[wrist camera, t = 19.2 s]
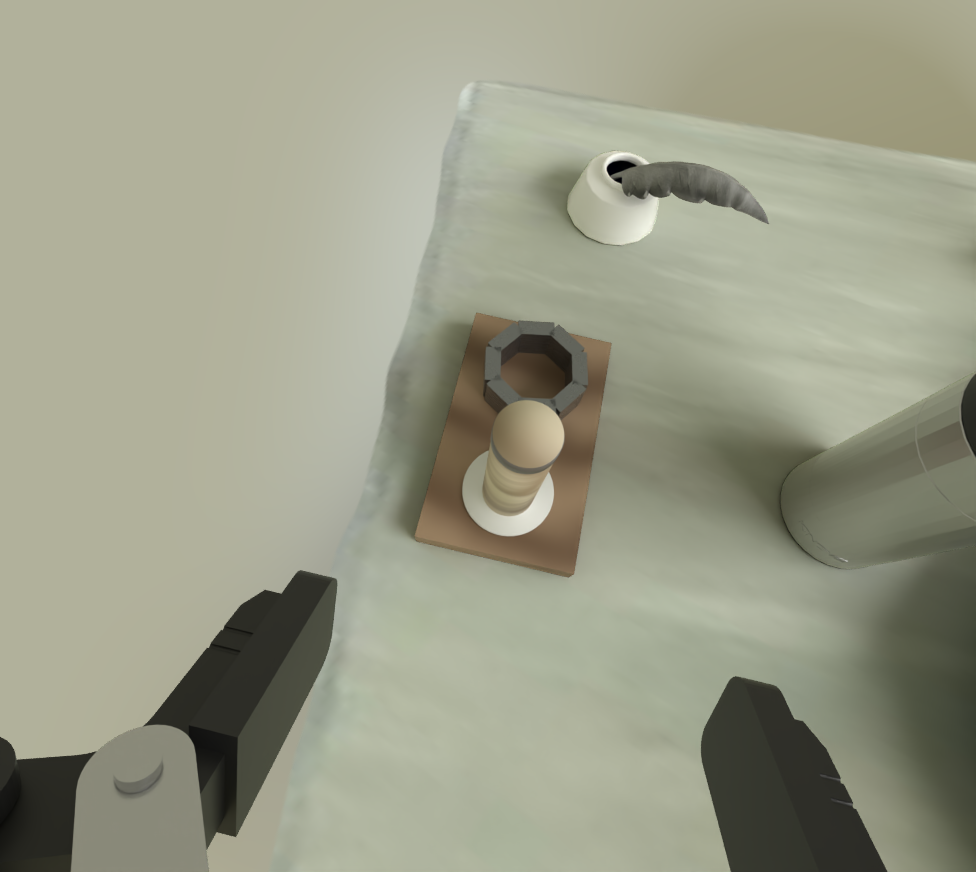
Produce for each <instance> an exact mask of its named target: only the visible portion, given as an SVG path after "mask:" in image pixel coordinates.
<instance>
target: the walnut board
mask: <svg viewBox="0 0 976 872" xmlns="http://www.w3.org/2000/svg"><path fill="white" fill-rule="evenodd" d="M513 322H515V323H516V324H517V325H518V322H516V321H511V320H507V319H502V318H498V317H493V316H489V315H485V314H480V313H476V315H475V319H474V323H473V326H472V330H471V333H470V337H469V341H468V344H467V348H466V352H465V355H464V359H463V362H462V366H461V370H460V373H459V377H458V381H457V384H456V388H455V391H454V395H453V399H452V402H451V406H450V410H449V413H448V417H447V420H446V424H445V428H444V431H443V435H442V439H441V442H440V446H439V449H438V453H437V457H436V460H435V464H434V468H433V471H432V475H431V478H430V482H429V486H428V489H427V493H426V497H425V500H424V504H423V507H422V511H421V515H420V518H419V522H418V525H417V529H416V533H415V539H416V541H418V542H422V543H426V544H430V545H435V546H439V547H443V548H447V549H451V550H456V551H460V552H464V553H468V554H472V555H477V556H481V557H485V558H489V559H494V560H498V561H502V562H506V563H510V564H515V565H519V566H523V567H527V568H531V569H536V570H540V571H544V572H548V573H552V574H557V575H561V576H565V577H570V576H572V575H573V574H574V571H575V565H576V559H577V552H578V546H579V540H580V534H581V528H582V522H583V516H584V509H585V503H586V497H587V491H588V485H589V479H590V472H591V466H592V460H593V454H594V448H595V442H596V435H597V429H598V423H599V417H600V411H601V405H602V399H603V392H604V386H605V380H606V374H607V368H608V362H609V355H610V349H611V343H609V342H604V341H600V340H595V339H591V338H587V337H582V336H578V335H573V334H570V335H571V336H572V337H573V338H574V339H575V340H576V341H577V342H579V343H580V344H581V345H582V346H583V347H584V348H585V349H584V351H583V352H587V369H588V386H587V388H586V391H585V393H584V395H583V397H582V399H581V401H580V403H579V405H578V406H577V407H576V408H575V409H573V410H572V411H571V412H570V413H569V414H568V415H567V416H566V417H564V418H563V419H562V420H561V422H562V425H563V429H564V444H563V447H562V450H561V452H560V454H559V456H558V457H557V459H556V460H555V462H554V463H553V465H552V467H551V468H550V470H549V473H550V475H551V478H552V481H553V486H554V499H553V504H552V507H551V509H550V511H549V513H548V515H547V517H546V518H545V519H544V521H543V522H542V523H541V524H540V525H539V526H538V527H536V528H535V529H533V530H532V531H530V532H528V533H526V534H522V535H519V536H508V537H507V536H500V535H495V534H493V533H490V532H488V531H486V530H484V529H483V528H481V527H480V526H479V525H478V524H477V523H476V522H474V520H473V519H472V518H471V517H470V515H469V513H468V512H467V509H466V507H465V504H464V501H463V495H462V487H463V480H464V476H465V474H466V472H467V470H468V468H469V466H470V465H471V464H472V462H473V461H474V460H475V459H476V458H477V457H479V456H480V455H481V454H483V453H485V452H486V451H489V447H490V442H491V431H492V426H493V423H494V420H495V418H496V417H497V415H498V413H497V412H496V411H495V410H494V409H493V408H492V407H491V406H490V405H489V404H488V403H487V402H486V401H485V396H483V378H484V360H485V351H486V347H488V342H490V341H491V340H492V339H493V338H495V337H496V336H497V335H498V334H500V333H501V332H502V331H503V330H505V329H506V328H507V327H508V326H510V325H511V324H512V323H513ZM500 377H501V378H502V379H503V380H504V381H505V382H506V383H507V384H508V385H509V386H510V387H511V388H512V389H513V390H514V391H515V392H516V393H517V394H519V395H520V396H521V397H522V398H542V399H553V398H554V397H555V396H556V395H557V394H558V393H559V392H561V391H562V390H563V389H564V388H565V372H564V371H563V370H562V369H561V368H559V367H558V366H557V365H556V364H555V363H554V362H553V361H552V360H551V359H550V358H549V357H548V356H547V355H545V354H533V353H517V354H516V355H514V356H513V357H512V358H511V359H510V360H508V361H507V362H506V363H505V364H503V365H502V366H501V376H500Z"/></svg>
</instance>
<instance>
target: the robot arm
mask: <svg viewBox="0 0 976 872" xmlns="http://www.w3.org/2000/svg"><path fill="white" fill-rule="evenodd" d="M781 510H782V514H783V518H784V521H785V523H786V525H787V528H788V530H789V531H790V533H791V535H792V536H793V538H794V539H795V541H796V542H797V543H798V544H799V545H800V546H801V547H802V548H803V549H804V550H805V551H806V552H807V553H809V554H810V555H811V556H813V557H814V558H815V559H817V560H819V561H821V562H823V563H825V564H827V565H830V566H834V567H837V568H843V569H856V568H863V567H868V566H873V565H878V564H883V563H889V562H895V561H900V560H905V559H910V558H915V557H921V556H926V555H931V554H936V553H941V552H946V551H951V550H956V549H962V548H967V547H972V546H976V372H974V373H972V374H970V375H968V376H967V377H965V378H963V379H961V380H959V381H957V382H955V383H953V384H951V385H950V386H948V387H946V388H944V389H942V390H940V391H938V392H936V393H935V394H933V395H931V396H929V397H927V398H925V399H924V400H922V401H920V402H918V403H916V404H914V405H912V406H910V407H908V408H906V409H905V410H903V411H901V412H899V413H897V414H895V415H893V416H891V417H889V418H887V419H885V420H884V421H882V422H880V423H878V424H876V425H874V426H872V427H870V428H868V429H866V430H865V431H863V432H861V433H859V434H857V435H855V436H853V437H851V438H849V439H847V440H846V441H844V442H842V443H840V444H838V445H836V446H834V447H832V448H830V449H828V450H826V451H824V452H822V453H820V454H819V455H817V456H815V457H813V458H811V459H809V460H807V461H805V462H803V463H802V464H800V465H799V466H797V467H796V468H794V469H793V470H792V471H791V473H790V474H789V475H788V476H787V478H786V480H785V482H784V484H783V487H782V492H781ZM336 593H337V580H336V579H335V578H331V577H327V576H322V575H318V574H314V573H310V572H306V571H301V570H300V571H298V572H297V573H296V574H295V576H294V577H293V578H292V580H291V581H290V583H289V584H288V585H287V587H286V588H285V590H284V591H283V593H282V594H280V593H276V592H272V591H267V590H264V591H263V592H261V593H259V594H258V595H256V596H255V597H253V598H251V599H250V600H248V601H247V602H245V603H243V604H242V605H241V606H240V607H239V608H238V609H237V611H236V612H235V613H234V615H233V616H232V617H231V618H230V620H229V621H228V622H227V623H226V625H225V626H224V629H223V630H221V631H220V632H219V634H218V635H217V636H216V637H215V638H214V640H213V641H212V642H211V644H210V647H209V648H207V649H206V650H205V651H204V652H203V654H202V655H201V656H200V658H199V659H198V660H197V661H196V663H195V664H194V665H193V666H192V668H191V669H190V670H189V671H188V673H187V674H186V675H185V676H184V678H183V679H182V680H181V682H180V683H179V684H178V685H177V687H176V688H175V689H174V691H173V692H172V693H171V694H170V695H169V697H168V698H167V699H166V700H165V702H164V703H163V704H162V706H161V707H160V708H159V709H158V711H157V712H156V713H155V714H154V716H153V717H152V718H151V719H150V720H149V721H148V722H147V723H146V724H145V725H144V726H143V727H139V728H136V729H133V730H130V731H127V732H125V733H123V734H121V735H119V736H117V737H115V738H114V739H112V740H111V741H109V742H108V743H106V744H105V745H104V746H103V747H101V748H100V749H99V750H98V751H96V752H92V753H88V754H82V755H74V756H60V757H47V758H34V759H21V760H16V755H15V751H14V749H13V747H12V745H11V744H10V743H9V742H8V741H7V740H5V739H3V738H1V737H0V872H209V868H208V859H207V851H206V850H207V849H208V847H209V845H210V843H211V841H212V839H213V838H214V836H215V834H216V832H218V833H222V834H226V835H230V836H234V837H236V836H237V834H238V832H239V830H240V828H241V826H242V824H243V822H244V820H245V818H246V816H247V814H248V812H249V810H250V808H251V806H252V804H253V802H254V800H255V798H256V796H257V794H258V792H259V790H260V789H261V787H262V785H263V783H264V781H265V779H266V777H267V775H268V773H269V771H270V769H271V767H272V765H273V763H274V761H275V759H276V757H277V755H278V753H279V751H280V749H281V747H282V745H283V743H284V741H285V739H286V737H287V735H288V733H289V731H290V729H291V727H292V725H293V724H294V722H295V720H296V718H297V716H298V713H299V712H300V710H301V708H302V706H303V704H304V701H305V700H306V698H307V696H308V694H309V692H310V690H311V688H312V686H313V684H314V682H315V680H316V678H317V676H318V674H319V672H320V670H321V668H322V666H323V664H324V661H325V659H326V656H327V653H328V650H329V646H330V642H331V637H332V629H333V620H334V611H335V602H336ZM701 757H702V763H703V767H704V771H705V775H706V778H707V782H708V786H709V790H710V794H711V797H712V801H713V805H714V809H715V813H716V816H717V820H718V824H719V828H720V832H721V835H722V839H723V843H724V847H725V851H726V854H727V858H728V862H729V866H730V870H731V872H887V870H886V868H885V866H884V864H883V862H882V860H881V858H880V856H879V854H878V852H877V850H876V848H875V846H874V844H873V842H872V840H871V838H870V836H869V834H868V832H867V830H866V828H865V826H864V824H863V822H862V820H861V818H860V816H859V814H858V812H857V810H856V809H853V806H852V804H853V802H852V800H851V798H850V796H849V794H848V792H847V790H846V788H845V786H844V784H841V782H840V779H841V778H840V776H839V774H838V772H837V770H836V768H835V766H834V764H833V762H832V760H831V758H830V756H829V754H828V752H827V750H826V748H825V747H824V746H823V745H822V743H821V742H820V741H819V740H818V739H817V737H816V736H815V735H814V734H813V733H812V732H811V730H810V729H809V728H808V727H807V726H806V724H805V723H804V722H803V721H799V720H795V719H794V718H793V716H792V714H791V712H790V709H789V707H788V705H787V703H786V701H785V699H784V696H783V694H782V693H781V691H780V690H779V688H777V687H776V686H774V685H771V684H766V683H762V682H758V681H754V680H750V679H746V678H741V677H736V676H735V677H733V678H731V680H730V681H729V682H728V684H727V686H726V688H725V690H724V692H723V693H722V695H721V697H720V699H719V701H718V703H717V705H716V707H715V709H714V711H713V713H712V715H711V716H710V718H709V720H708V722H707V724H706V726H705V728H704V731H703V735H702V741H701Z"/></svg>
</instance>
